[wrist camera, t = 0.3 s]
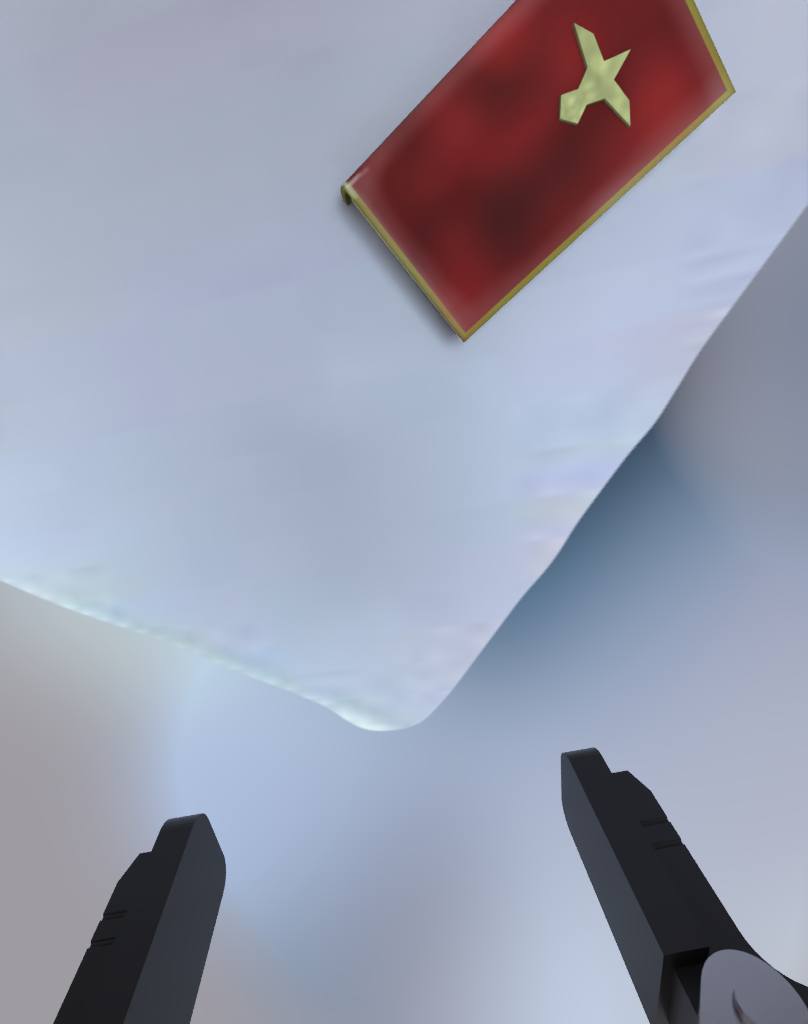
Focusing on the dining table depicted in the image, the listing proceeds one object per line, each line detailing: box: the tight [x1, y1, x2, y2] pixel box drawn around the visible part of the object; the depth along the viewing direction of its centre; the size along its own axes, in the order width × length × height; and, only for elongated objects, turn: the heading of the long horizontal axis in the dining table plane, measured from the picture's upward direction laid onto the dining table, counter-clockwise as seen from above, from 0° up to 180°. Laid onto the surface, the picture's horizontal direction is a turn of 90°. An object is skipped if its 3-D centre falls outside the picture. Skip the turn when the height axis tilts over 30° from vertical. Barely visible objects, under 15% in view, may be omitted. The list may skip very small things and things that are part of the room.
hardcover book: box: [341, 0, 736, 342], centre depth 29 cm, size 12×21×4 cm, turn 132°
